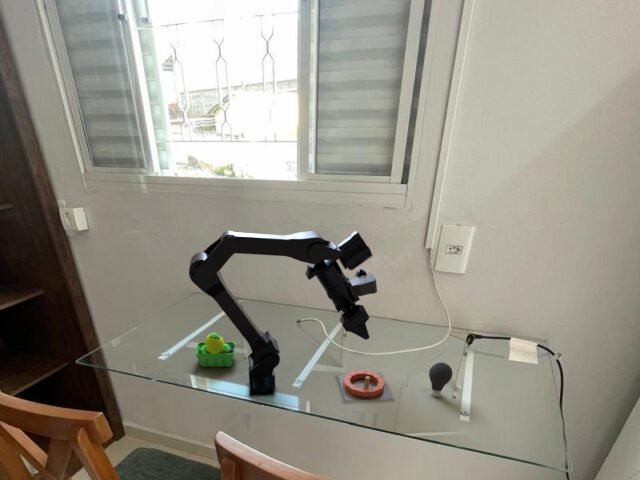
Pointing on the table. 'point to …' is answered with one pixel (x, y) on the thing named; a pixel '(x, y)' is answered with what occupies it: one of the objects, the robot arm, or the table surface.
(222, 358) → the fruit basket
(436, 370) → the light bulb
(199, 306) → the table surface
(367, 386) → the peg stand
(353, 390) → the ring
